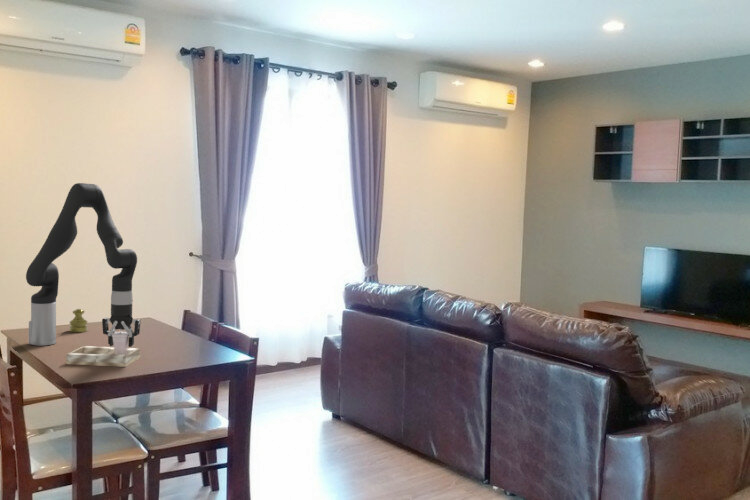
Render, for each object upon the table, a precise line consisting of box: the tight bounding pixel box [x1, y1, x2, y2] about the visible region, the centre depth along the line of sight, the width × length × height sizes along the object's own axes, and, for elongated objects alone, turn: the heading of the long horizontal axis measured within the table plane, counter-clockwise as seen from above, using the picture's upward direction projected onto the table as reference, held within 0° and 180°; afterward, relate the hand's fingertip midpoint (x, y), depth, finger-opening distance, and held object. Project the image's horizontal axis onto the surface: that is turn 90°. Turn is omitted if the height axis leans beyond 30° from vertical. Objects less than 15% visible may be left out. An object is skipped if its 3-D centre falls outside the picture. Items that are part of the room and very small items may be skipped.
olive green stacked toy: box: [69, 308, 88, 333], centre depth 304 cm, size 7×7×10 cm
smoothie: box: [112, 329, 129, 355], centre depth 253 cm, size 6×6×14 cm
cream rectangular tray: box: [65, 345, 141, 368], centre depth 254 cm, size 22×14×4 cm, turn 89°
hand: (121, 345), depth 253 cm, fingers open, 6 cm apart
